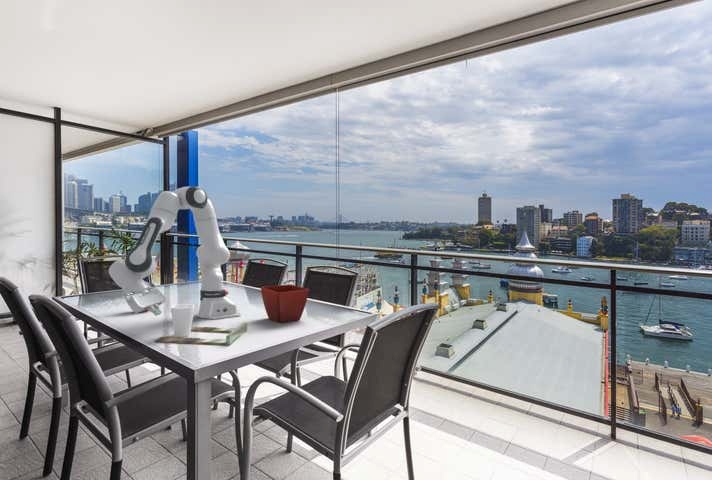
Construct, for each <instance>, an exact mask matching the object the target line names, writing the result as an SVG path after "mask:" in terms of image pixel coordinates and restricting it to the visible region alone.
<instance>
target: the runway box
mask: <svg viewBox="0 0 712 480" xmlns="http://www.w3.org/2000/svg"><path fill="white" fill-rule="evenodd" d="M203 327H204V326H202V327H201V326H191V332H198V333H199V332H200V333H205V332H206V333H222V334H223V333H224V334H227V335H226V338H225V339H224V338H223V339H222V338H200V339H199V340H197V341H196V342H186V341H182V340H183V339H185V338H186V337H167V336H161V337H158V338H156V339H155V340H154V342H155V343H169V344H171V343H172V344H189V345H191V344H192V345H214V346H231V345H232V344H233V343H235V342H236V341H237V340H238V339H239V338H241V337H242V336H243V335H244V334H245V333H246V332H248V322H246V321H244V322H243V323H242V324H240V325H238V326H237V327H234V328H233V327H217V328H216V329H214V330H200V329H202V328H203Z"/></svg>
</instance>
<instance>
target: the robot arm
mask: <svg viewBox="0 0 712 480" xmlns="http://www.w3.org/2000/svg"><path fill="white" fill-rule="evenodd" d="M179 210H191V213H192V215H193V222H194V226H195V231H196V235H197V237H198V238H199V240H200V242H201V245H199V246H198V248H197V249H196V252H195V253H196V257H197V259H198V264H199V270H200V274H201V275H200V276H201V277H200V279H201V281H200V286H201V287H200V290H199V300H200V301H199V308H198V311H197V318H201V319H207V320H209V319H210V320H220V319H227V318H235V317H241V316H242V312H241V310H238V306H237V303H236V302H235V301H234V300H233V299H231V298H230V297H229V296H228V295H229V291H228V290H226V289H224V274H223V272H222V268H221V265H224V264H226V263H228V261H229V260H230V257H231V252H230V249H229V248H227V247H228V246H226V244H225V242H224V240H223V239H224V238H223V237H222V235H221V232H220V229H219V225H218V219H217V215H216V211H215V208H214V205H213V203H212V201H211V200H210V199H209V198H208V196H207V194H206V191H205V189H204V188H202V187H200V186H196V185H192V186H182V187H180V188H179V187H178V188H175V189H172V190H165V191H162V192H160V194H159V195H158V196H157V198H156V200H155V201H154V203H153V205H152V207H151V209H150V211H149V212H150V213H149V215H148V218H147V220H146V223H145V226H144V227H143V230H142V231H141V233H140V236H139V238H138V240H137V242H136V244H135V246H134V247H133V248H132V249H131V250H129V252H128V253H127V254H126V255H125V258H123V259H121V258H119V259H117V260H115V261H113V263H112V264H111V265H110V266H109V268H108V274H109V276H110V278H111V279H112V280H113V281H114V283H115V284H116V285H117V286H118V287H120V288H121V289H122V290H123V293H124V294H125V295H124V299H125V300H126V304H127V305H128V307H129V308H130V309H131V310H132V311H133V313H136V314H138V312H141V311H144V310H148V312H150V313H152V314H153V315H154V316H159V315H161V314H162V313H163V311H162V310H161V309H160V306H161V305H162V304H164V303H165V302H166V301H167V300H166V297H165V295H164V294H163V293H162V291H160V289H158V288H156V287H157V285H156V284H154V283H151V282H148V281H145V280H144V279H145V278H147V277H150V276H151V275H152V274H153V273H154V274H155V272H156V270H157V268H158V263H157V260H156V259H155V258H154V257H153V256H152V250H153V248H154V246H155V243H156V242H157V239H158V237H159V235H160V234H161V233H162V232H163V233H164V232H167V231H169V230H171V228H172V227H173V225H174V224H175V221H176V219H177V215H178V212H179Z"/></svg>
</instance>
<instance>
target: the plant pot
mask: <svg viewBox="0 0 712 480" xmlns="http://www.w3.org/2000/svg"><path fill="white" fill-rule="evenodd" d="M260 293H261V297H262V302H263V305H264V309H265V310H264V311H265V312H266V315H267V317H268V319H269V320H271V321H273V322H276V323H279V324H282V323H283V324H284V323H288V322H295V321H299V320H301V318H302V316H303V314H304V311H305V307H306V304H307V299H308V296H309V288H305V287H301V286H299V285H294V284H282V285H272V286H271V285H270V286H260Z"/></svg>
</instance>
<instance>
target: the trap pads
mask: <svg viewBox="0 0 712 480" xmlns="http://www.w3.org/2000/svg"><path fill="white" fill-rule="evenodd" d="M202 327H203V328H202V329H200V330H214V329H216V328H218V327H216V326H215V327H214V326H213V327H212V326H202ZM184 338H185V339H183V340H182V341H186V342H196V341H197V340H199V339H201V337H184Z"/></svg>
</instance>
